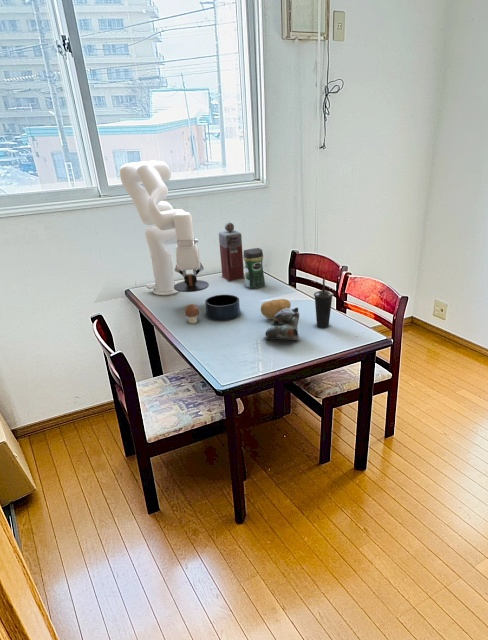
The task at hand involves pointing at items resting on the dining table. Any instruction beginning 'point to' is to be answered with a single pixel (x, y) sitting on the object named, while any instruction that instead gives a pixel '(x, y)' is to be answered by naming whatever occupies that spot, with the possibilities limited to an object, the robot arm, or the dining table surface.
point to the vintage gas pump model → (231, 253)
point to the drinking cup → (323, 306)
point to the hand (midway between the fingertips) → (191, 284)
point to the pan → (222, 307)
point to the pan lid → (191, 285)
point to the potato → (274, 307)
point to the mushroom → (192, 312)
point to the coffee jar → (254, 268)
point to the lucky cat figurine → (284, 325)
